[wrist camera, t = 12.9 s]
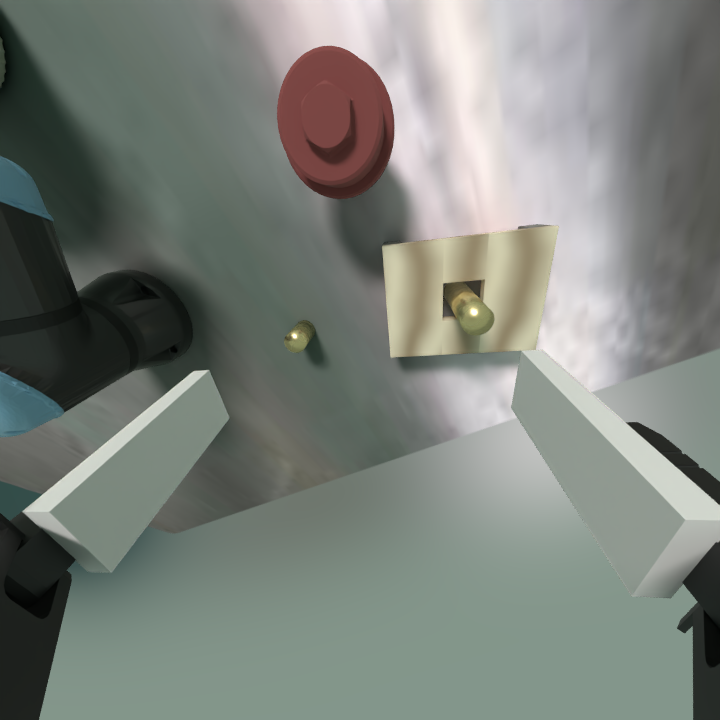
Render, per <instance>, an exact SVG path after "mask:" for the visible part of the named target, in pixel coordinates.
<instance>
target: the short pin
mask: <svg viewBox="0 0 720 720" xmlns="http://www.w3.org/2000/svg"><path fill="white" fill-rule="evenodd" d="M314 334H315V328H314V326H313V324H312V323H310V322H309V321H305V320H303V321H300V322H298V324H297V325H296V326H295V327H294V328H293V329H292V330H291V331H290V332H289V333H288V334H287V335H286V337H285V339H284V343H285V346H286V347H287V349H288V350H290V351H291V352H294V353H299V352H301V351H303V350H304V348H305V347H306V346H307V344H308V343H309V341H310V340H311V338H312V337H313V335H314Z"/></svg>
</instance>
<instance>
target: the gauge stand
mask: <svg viewBox="0 0 720 720" xmlns="http://www.w3.org/2000/svg"><path fill="white" fill-rule="evenodd" d="M558 228H559V226H552V225H538V224H536V225H528V226H519V227H518V229H517V230H509V231H500V232H492V233H484V234H475V235H467V236H458V237H450V238H441V239H433V240H424V241H416V242H408V243H400V241H394V242H386V243H384V244H383V246H382V251H383V264H384V277H385V290H386V303H387V316H388V329H389V341H390V354H391V357H409V356H428V355H447V354H466V353H485V352H505V351H524V350H536V344H537V339H538V334H539V329H540V323H541V318H542V313H543V307H544V302H545V297H546V292H547V286H548V281H549V276H550V270H551V265H552V260H553V255H554V249H555V244H556V239H557V233H558ZM473 280H481V290H480V299H481V300H482V301H483V302H484V303H485V304H486V306H487V307H488V308H489V309H490V310H491V311H492V312H493V314H494V318H495V319H494V324H493V326H492V328H491V329H490V330H489V331H488V332H486V333H485V334H482V335H478V336H473V335H469V334H467V333H466V332H465V331H464V330H463V328H462V326H461V325H460V323H459V321H458V319H457V318H456V316H446V317H443V283H452V282H463V281H473Z"/></svg>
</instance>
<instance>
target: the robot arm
mask: <svg viewBox="0 0 720 720" xmlns="http://www.w3.org/2000/svg"><path fill="white" fill-rule="evenodd" d="M53 221H54V220H53V217H52V216H51V215H50V214H48V211H47V209H46V207H45V205H44V203H43V200H42V198H41V195H40V193H39V191H38V188H37V186H36V184H35V182H34V180H33V178H32V177H31V176H30V175H29V174H28V172H26V171H25V170H24V169H23V168H22V167H20V166H19V165H17V164H16V163H14V162H12V161H11V160H8V159H6V158H4V157H1V156H0V437H11V436H17V435H20V434H23V433H26V432H28V431H30V430H32V429H34V428H36V427H38V426H40V425H42V424H44V423H46V422H48V421H50V420H52V419H54V418H58V417H60V416H61V415H62V414H64V412H66V411H68V410H69V409H71V408H72V407H74V406H76V405H77V404H79V403H81V402H82V401H84V400H86V399H87V398H89V397H91V396H92V395H94V394H95V393H97V392H99V391H100V390H102V389H104V388H105V387H107V386H109V385H110V384H112V383H114V382H115V381H117V380H119V379H120V378H122V377H124V376H125V375H127V374H129V373H130V372H132V371H135V370H140V369H144V368H149V367H153V366H158V365H162V364H166V363H169V362H171V361H173V360H174V359H176V358H178V357H179V356H181V355H182V354H183V353H185V352H186V350H187V349H188V348H189V346H190V343H191V340H192V325H191V321H190V318H189V315H188V313H187V311H186V309H185V307H184V306H183V304H182V302H181V301H180V300H179V298H178V297H177V296H176V295H175V294H174V293H173V292H172V291H171V290H170V289H169V288H168V287H167V286H166V285H165V284H163V283H162V282H161V281H159V280H158V279H156V278H154V277H152V276H150V275H148V274H146V273H143V272H139V271H135V270H121V271H116V272H111V273H107V274H104V275H102V276H100V277H98V278H97V279H95V280H94V281H92V282H91V283H90V284H88V285H87V286H85V287H84V288H82V289H81V290H80V291H78V292H77V291H76V288H75V286H74V283H73V280H72V277H71V275H70V272H69V269H68V266H67V263H66V260H65V258H64V255H63V252H62V249H61V246H60V243H59V240H58V237H57V235H56V232H55V229H54V226H53V223H52V222H53ZM511 408H512V410H513V412H514V413H515V415H516V416H517V418H518V419H519V421H520V423H521V424H522V426H523V427H524V429H525V430H526V432H527V434H528V435H529V437H530V438H531V440H532V441H533V443H534V444H535V446H536V448H537V449H538V451H539V452H540V454H541V455H542V457H543V459H544V460H545V462H546V463H547V465H548V466H549V468H550V470H551V471H552V473H553V474H554V476H555V477H556V479H557V481H558V482H559V484H560V485H561V487H562V488H563V490H564V492H565V493H566V495H567V496H568V498H569V499H570V501H571V502H572V504H573V506H574V507H575V509H576V510H577V512H578V514H579V515H580V517H581V518H582V520H583V521H584V523H585V525H586V526H587V528H588V529H589V531H590V532H591V534H592V536H593V537H594V539H595V540H596V542H597V543H598V545H599V546H600V548H601V550H602V551H603V552H604V554H605V556H606V558H607V559H608V561H609V562H610V564H611V565H612V567H613V568H614V570H615V571H616V573H617V575H618V576H619V578H620V579H621V581H622V583H623V584H624V586H625V587H626V589H627V590H628V592H629V594H630V595H631V596H634V597H654V598H655V597H656V598H671V597H672V596H673V595H674V594H675V593H676V592H677V590H678V589H679V588H680V587H681V586H682V585H683V584H684V585H685V586H686V588H687V589H688V590H689V591H690V593H691V594H692V595H693V596H694V597H695V599H696V600H697V601H698V603H697V604H695V606H694V607H693V608H692V609H691V610H690V611H689V612H688V613H687V614H686V615H685V616H684V617H683V618H682V619H681V620H680V623H679V625H678V627H677V629H679V630H680V631H682V632H683V633H686V631H688V629H690V628H691V627H692V626H693V720H720V482H719V481H718V480H717V479H716V478H714V477H713V476H712V475H711V474H710V473H708V472H707V471H706V470H705V469H703V468H699V466H698V464H697V463H696V462H695V461H693V460H692V459H691V458H690V457H688V456H687V455H686V454H682V452H681V450H680V449H679V448H677V447H676V446H675V445H674V444H672V443H671V442H670V441H669V440H667V439H666V438H665V437H664V436H662V435H661V434H659V433H657V432H655V431H653V430H651V429H649V428H648V427H646V426H644V425H642V424H640V423H638V422H629V423H625V422H624V421H623V420H622V419H621V418H620V417H619V416H617V415H616V414H615V413H614V412H613V411H612V410H611V409H609V408H608V407H607V406H606V405H605V404H604V403H603V402H601V401H600V400H599V399H598V398H597V397H596V396H595V395H594V394H592V393H591V392H590V391H589V390H588V389H587V388H586V387H584V386H583V385H582V384H581V383H580V382H579V381H578V380H577V379H575V378H574V377H573V376H572V375H571V374H570V373H569V372H567V371H566V370H565V369H564V368H563V367H562V366H561V365H559V364H558V363H557V362H556V361H555V360H554V359H553V358H551V357H550V356H549V355H548V354H547V353H546V352H545V351H544V350H528V351H521V355H520V360H519V366H518V372H517V378H516V383H515V389H514V395H513V401H512V406H511ZM228 420H229V415H228V413H227V411H226V408H225V406H224V404H223V401H222V399H221V397H220V394H219V392H218V390H217V387H216V385H215V383H214V380H213V378H212V376H211V373H210V371H209V370H203V371H193V372H192V373H191V374H189V375H188V376H187V377H186V378H185V379H183V380H182V381H181V382H180V383H178V384H177V385H176V386H175V387H174V388H172V389H171V390H170V391H169V392H167V393H166V394H165V395H164V396H163V397H161V398H160V399H159V400H158V401H156V402H155V403H154V404H153V405H152V406H150V407H149V408H148V409H147V410H145V411H144V412H143V413H142V414H141V415H139V416H138V417H137V418H136V419H134V420H133V421H132V422H131V423H130V424H128V425H127V426H126V427H125V428H124V429H122V430H121V431H120V432H119V433H117V434H116V435H115V436H114V437H113V438H111V439H110V440H109V441H108V442H106V443H105V444H104V445H103V446H102V447H100V448H99V449H98V450H96V451H95V452H94V453H93V454H92V455H90V456H89V457H88V458H87V459H85V460H84V461H83V462H82V463H81V464H79V465H78V466H77V467H76V468H74V469H73V470H72V471H71V472H70V473H69V474H67V475H66V476H65V477H63V478H62V479H61V480H60V481H59V482H57V483H56V484H55V485H54V486H52V487H51V488H50V489H49V490H48V491H46V492H45V493H44V494H43V495H41V496H40V497H39V498H38V499H37V500H35V501H34V502H33V503H32V504H31V505H29V506H28V507H27V508H26V509H24V510H23V511H22V512H21V513H20V514H18V515H17V516H16V517H14V518H13V519H12V520H11V521H9V520H8V519H6V518H5V517H4V516H3V515H2V514H1V513H0V720H39V717H40V712H41V708H42V704H43V700H44V695H45V691H46V687H47V683H48V679H49V675H50V670H51V666H52V662H53V658H54V653H55V649H56V645H57V641H58V636H59V632H60V628H61V624H62V619H63V615H64V611H65V607H66V603H67V598H68V594H69V590H70V586H71V581H72V579H71V574H70V573H69V572H68V571H67V569H68V568H69V567H70V566H71V565H72V563H73V562H74V561H75V560H76V561H77V562H78V563H79V564H80V565H81V566H82V567H83V568H84V569H86V570H87V571H88V572H104V573H112V571H113V570H114V569H115V567H116V566H117V565H118V563H119V562H120V561H121V560H122V558H123V557H124V556H125V554H126V553H127V551H128V550H129V549H130V548H131V547H132V545H133V544H134V543H135V541H136V540H137V539H138V537H139V536H140V535H141V533H142V532H143V531H144V529H145V528H146V527H147V526H148V524H149V523H150V522H151V520H152V519H153V518H154V516H155V515H156V514H157V513H158V511H159V510H160V509H161V507H162V506H163V505H164V503H165V502H166V501H167V500H168V498H169V497H170V496H171V494H172V493H173V492H174V490H175V489H176V488H177V486H178V485H179V484H180V483H181V481H182V480H183V479H184V477H185V476H186V475H187V473H188V472H189V471H190V469H191V468H192V467H193V466H194V464H195V463H196V462H197V460H198V459H199V458H200V456H201V455H202V454H203V452H204V451H205V450H206V449H207V447H208V446H209V445H210V443H211V442H212V441H213V439H214V438H215V437H216V435H217V434H218V433H219V432H220V430H221V429H222V428H223V426H224V425H225V424H226V422H227V421H228Z"/></svg>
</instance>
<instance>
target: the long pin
mask: <svg viewBox="0 0 720 720" xmlns="http://www.w3.org/2000/svg"><path fill="white" fill-rule="evenodd" d="M443 294H444V297H445V298H446V300H447V302H448V304H449V305H450V307H451V309H452V311H453V312H454V314H455V316H456V318H457V319H458V321H459V323H460V325H461V326H462V328H463V330H464V331H465V332H466V333H467V334H469V335H473V336H478V335H482V334H485V333H486V332H488V331H489V330H490V329H491V328H492V326H493V324H494V319H495V318H494V314H493V312H492V311H491V310H490V309H489V308H488V307H487V306H486V304H485V303H484V302H483V301H482V300H481V299H480V298H479V297H478V296H477V295H476V294H475V293H474V292H473V291H472V290H471V289H470V288H469V287H468V286H467V285H466V284H465V283H464V282H452V283H447V284H446V285H445V287H444V290H443Z"/></svg>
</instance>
